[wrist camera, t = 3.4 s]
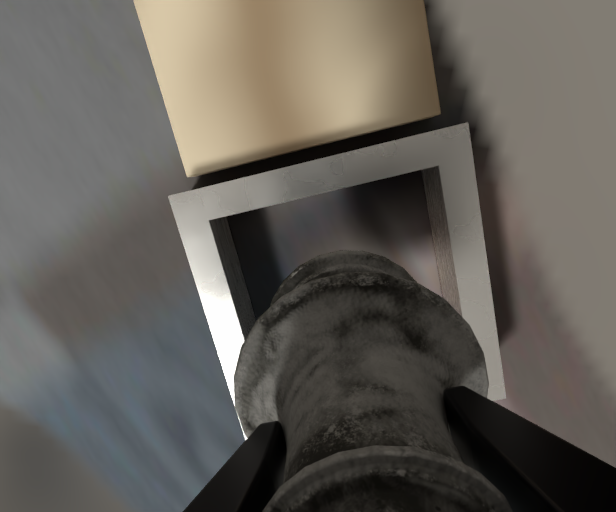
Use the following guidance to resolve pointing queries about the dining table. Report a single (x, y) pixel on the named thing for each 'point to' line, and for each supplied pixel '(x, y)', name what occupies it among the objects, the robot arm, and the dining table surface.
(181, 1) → the wooden square board
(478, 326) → the grey square frame
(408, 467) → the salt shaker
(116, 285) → the dining table surface
